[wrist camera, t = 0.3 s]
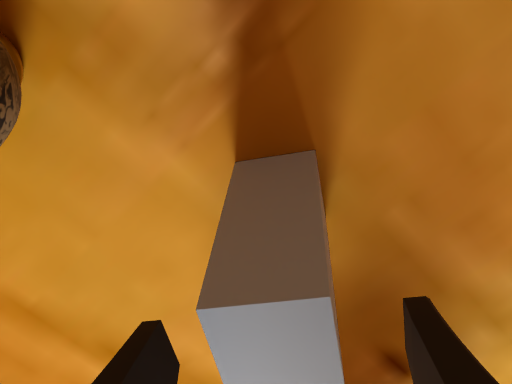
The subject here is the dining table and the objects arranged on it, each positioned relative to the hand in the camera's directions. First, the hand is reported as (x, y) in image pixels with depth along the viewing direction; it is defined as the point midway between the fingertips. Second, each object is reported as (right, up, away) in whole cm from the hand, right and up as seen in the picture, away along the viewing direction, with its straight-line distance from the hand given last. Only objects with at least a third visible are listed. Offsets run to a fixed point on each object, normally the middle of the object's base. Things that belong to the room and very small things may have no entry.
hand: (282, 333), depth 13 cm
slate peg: (+1, +4, +9) cm, 10 cm away
